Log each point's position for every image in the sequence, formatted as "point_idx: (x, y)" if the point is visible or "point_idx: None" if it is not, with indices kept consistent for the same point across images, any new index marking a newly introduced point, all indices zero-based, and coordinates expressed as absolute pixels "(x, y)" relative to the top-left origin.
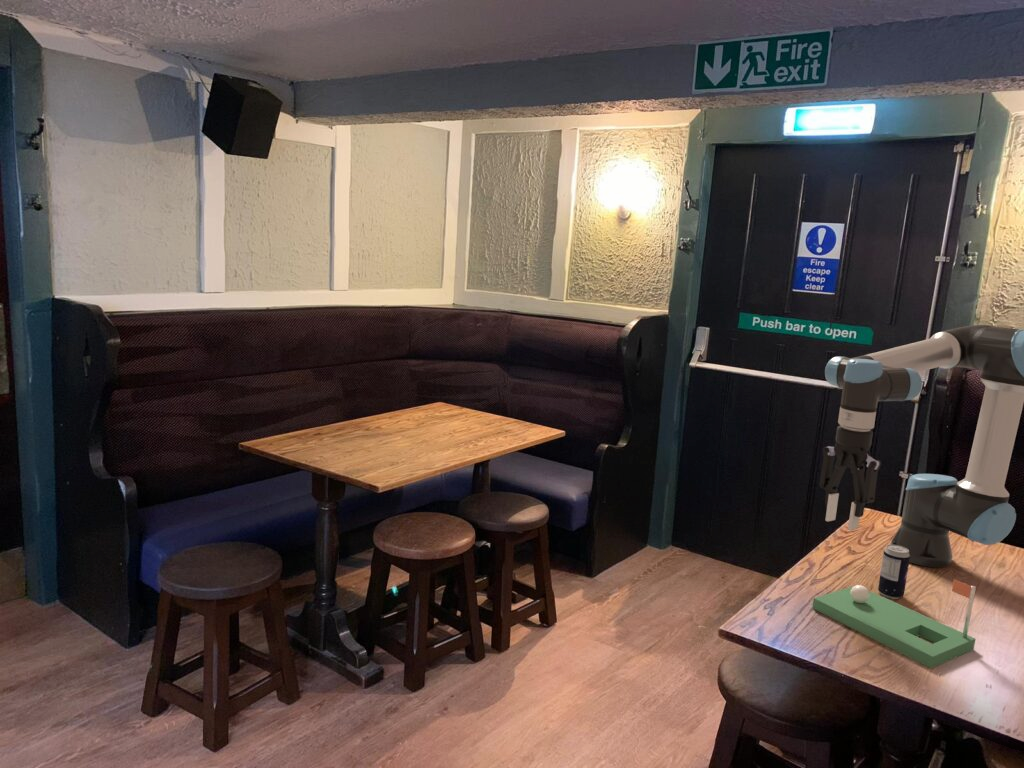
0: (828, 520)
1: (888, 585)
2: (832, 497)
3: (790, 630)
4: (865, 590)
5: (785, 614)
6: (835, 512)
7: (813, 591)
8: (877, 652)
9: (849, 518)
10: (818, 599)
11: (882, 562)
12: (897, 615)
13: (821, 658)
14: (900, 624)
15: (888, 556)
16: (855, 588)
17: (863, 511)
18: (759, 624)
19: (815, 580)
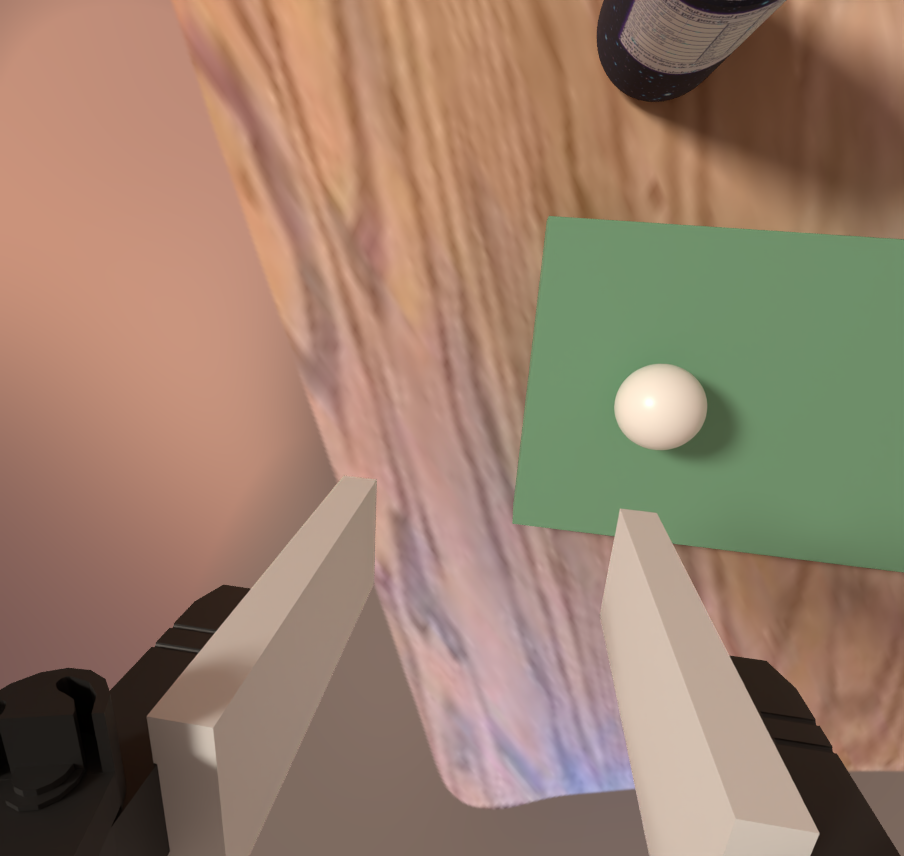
0: (371, 585)
1: (683, 82)
2: (254, 821)
3: (561, 690)
4: (697, 422)
5: (487, 616)
6: (350, 534)
7: (426, 364)
8: (829, 607)
9: (621, 710)
10: (530, 518)
11: (640, 9)
12: (835, 366)
13: None
14: (875, 440)
15: (714, 9)
16: (651, 443)
17: (824, 743)
18: (484, 725)
19: (361, 249)
